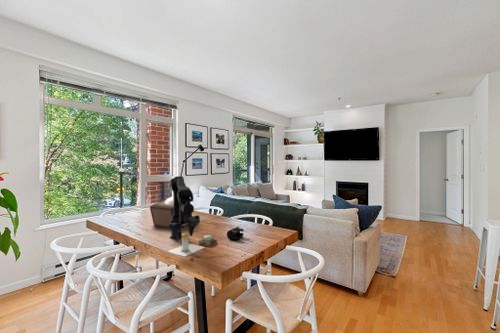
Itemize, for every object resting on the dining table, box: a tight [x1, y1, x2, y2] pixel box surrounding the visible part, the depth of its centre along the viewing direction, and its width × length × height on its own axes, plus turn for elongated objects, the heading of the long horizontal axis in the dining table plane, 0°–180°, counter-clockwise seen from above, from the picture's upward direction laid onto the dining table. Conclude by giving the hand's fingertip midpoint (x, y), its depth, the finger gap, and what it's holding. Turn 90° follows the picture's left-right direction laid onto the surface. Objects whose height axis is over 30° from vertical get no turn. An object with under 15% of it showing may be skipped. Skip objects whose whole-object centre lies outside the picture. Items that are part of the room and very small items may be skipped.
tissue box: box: [149, 195, 173, 229], centre depth 195 cm, size 24×28×24 cm
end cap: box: [226, 226, 244, 242], centre depth 157 cm, size 10×7×7 cm
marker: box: [181, 232, 190, 252], centre depth 135 cm, size 4×4×9 cm
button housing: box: [198, 237, 218, 248], centre depth 147 cm, size 8×8×2 cm
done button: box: [203, 234, 213, 242], centre depth 147 cm, size 5×5×3 cm
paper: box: [166, 242, 206, 258], centre depth 137 cm, size 14×16×1 cm
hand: (185, 238), depth 135 cm, fingers open, 9 cm apart
